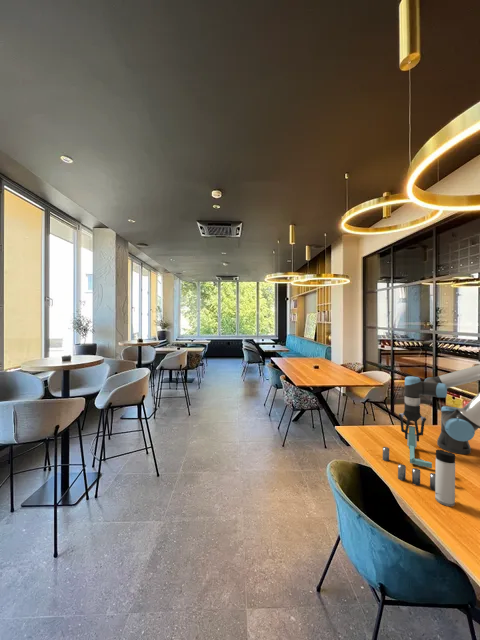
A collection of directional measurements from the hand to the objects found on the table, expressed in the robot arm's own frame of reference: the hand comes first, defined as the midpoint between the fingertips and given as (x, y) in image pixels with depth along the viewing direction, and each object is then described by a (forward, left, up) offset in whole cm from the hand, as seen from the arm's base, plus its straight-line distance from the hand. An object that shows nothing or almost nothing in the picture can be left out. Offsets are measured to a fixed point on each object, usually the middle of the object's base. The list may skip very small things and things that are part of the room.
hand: (411, 445), depth 157 cm
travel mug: (-11, +48, -2) cm, 49 cm away
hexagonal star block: (-3, +19, -2) cm, 19 cm away
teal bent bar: (-3, +11, -1) cm, 11 cm away
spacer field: (0, +32, -1) cm, 32 cm away
